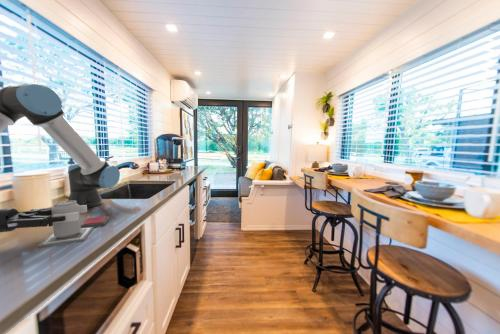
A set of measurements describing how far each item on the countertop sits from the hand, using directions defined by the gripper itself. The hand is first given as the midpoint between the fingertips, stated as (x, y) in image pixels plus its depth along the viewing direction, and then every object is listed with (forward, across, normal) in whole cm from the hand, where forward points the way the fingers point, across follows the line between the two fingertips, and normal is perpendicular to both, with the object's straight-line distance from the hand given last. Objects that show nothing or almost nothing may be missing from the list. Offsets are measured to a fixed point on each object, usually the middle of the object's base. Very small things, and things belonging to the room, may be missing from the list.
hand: (82, 212), depth 78 cm
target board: (-5, 0, -8) cm, 10 cm away
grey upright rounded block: (-5, 0, -8) cm, 9 cm away
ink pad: (+1, -12, -8) cm, 15 cm away
